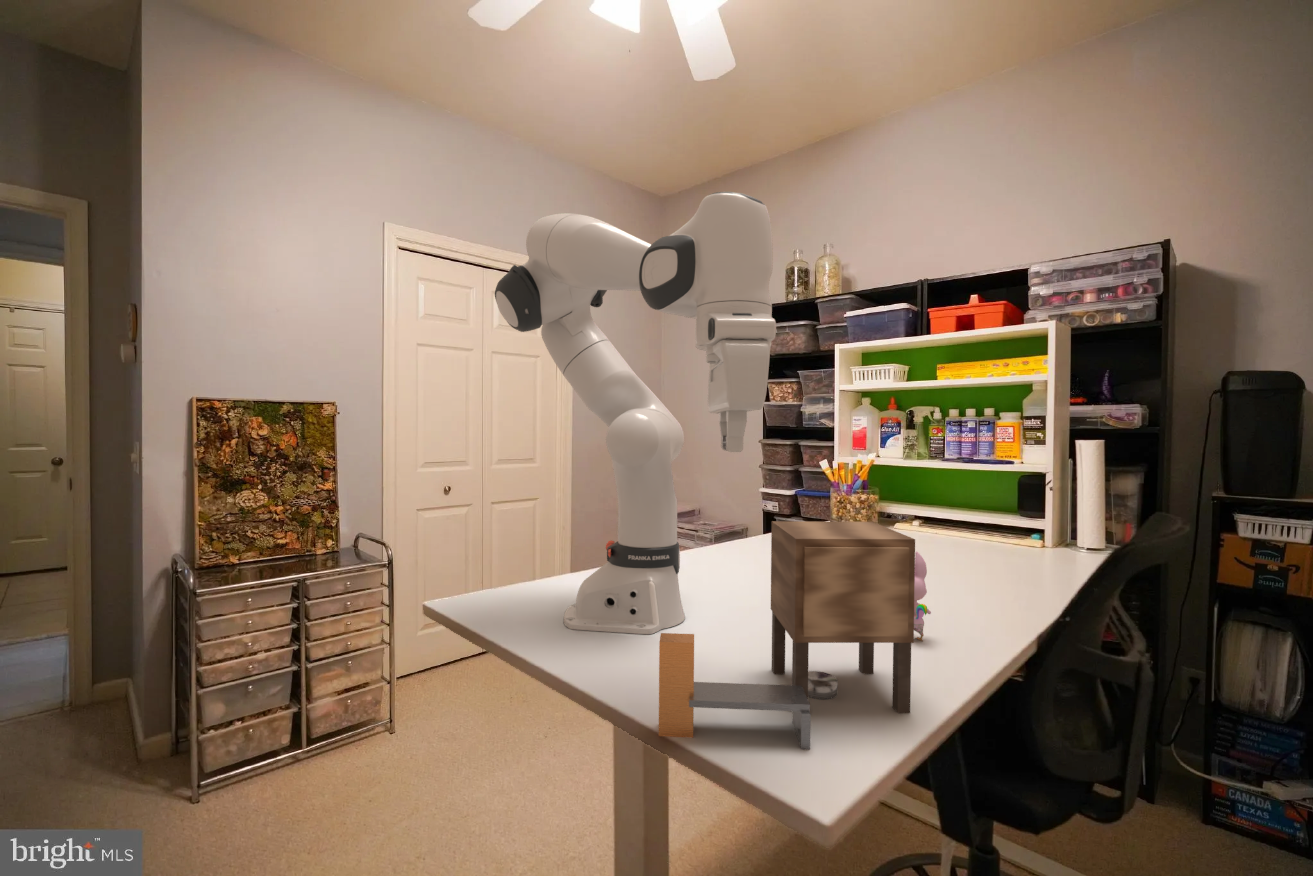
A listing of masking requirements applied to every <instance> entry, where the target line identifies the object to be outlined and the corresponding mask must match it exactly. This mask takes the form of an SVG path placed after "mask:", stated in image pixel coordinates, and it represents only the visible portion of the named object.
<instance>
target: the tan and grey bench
mask: <svg viewBox="0 0 1313 876" xmlns="http://www.w3.org/2000/svg"><path fill="white" fill-rule="evenodd" d="M658 649H659V651H658V652H659V654H658V655H659V658H658V659H659V660H658V662H659V663H658V670H659V671H658V737H670V738H694V708H697V709H698V708H701V709H724V710H725V709H728V710H749V711H750V710H752V711H755V710H756V711H774V712H775V711H779V712H781V711H782V712H792V715H791V716H792V721H791V723H792V726H793V728H794V732H795V735H796V738H797V740H798V744H799V747H800V749H801V750H809V751H810V750H811V719H812V718H811V704H810V702H809V698H808V699H807V697H806V694H805V692H804V689H803V687H802V686H796V685H792V684H790V685H789V684H764V683H761V684H760V683H739V682H738V683H733V682H712V681H711V682H710V681H708V682H706V681H704V682H703V681H695V633H675V632H674V633H671V632H670V633H669V632H661V633H660V637H659V647H658Z"/></svg>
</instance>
